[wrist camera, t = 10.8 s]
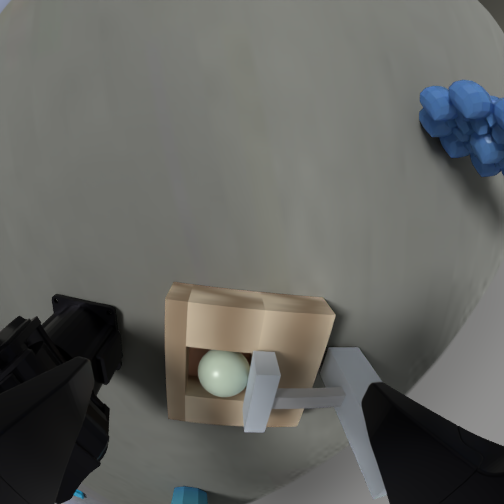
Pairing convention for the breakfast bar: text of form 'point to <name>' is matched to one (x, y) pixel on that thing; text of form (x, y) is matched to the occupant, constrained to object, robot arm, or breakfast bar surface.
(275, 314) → the board
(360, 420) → the pull handle
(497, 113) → the grapes
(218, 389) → the ball
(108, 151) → the breakfast bar surface
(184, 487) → the cup
